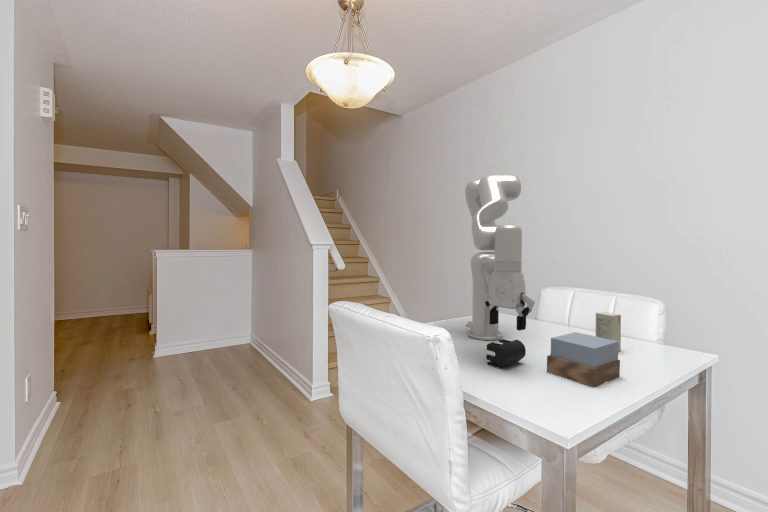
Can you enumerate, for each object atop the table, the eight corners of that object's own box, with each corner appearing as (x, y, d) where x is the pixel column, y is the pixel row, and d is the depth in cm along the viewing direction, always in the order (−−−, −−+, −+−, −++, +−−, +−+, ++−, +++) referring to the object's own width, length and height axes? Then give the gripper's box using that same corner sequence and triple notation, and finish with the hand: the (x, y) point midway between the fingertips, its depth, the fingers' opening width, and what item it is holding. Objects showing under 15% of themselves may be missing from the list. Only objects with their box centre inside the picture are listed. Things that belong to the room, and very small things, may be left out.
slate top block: (550, 355, 107) (550, 337, 107) (575, 348, 114) (575, 332, 113) (593, 368, 97) (594, 348, 97) (617, 359, 104) (618, 341, 103)
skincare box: (621, 351, 126) (622, 314, 125) (611, 353, 124) (612, 315, 124) (603, 346, 132) (604, 311, 131) (594, 347, 130) (595, 312, 130)
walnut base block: (546, 373, 107) (547, 355, 107) (572, 364, 114) (573, 348, 114) (593, 389, 96) (594, 369, 96) (619, 378, 104) (620, 360, 103)
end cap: (506, 371, 108) (507, 347, 107) (485, 364, 113) (485, 342, 113) (525, 364, 114) (526, 341, 114) (504, 358, 119) (505, 336, 119)
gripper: (476, 267, 117) (475, 323, 117) (525, 270, 103) (524, 334, 103) (493, 266, 121) (492, 320, 121) (542, 269, 107) (541, 330, 107)
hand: (507, 326), depth 112 cm, fingers open, 9 cm apart
